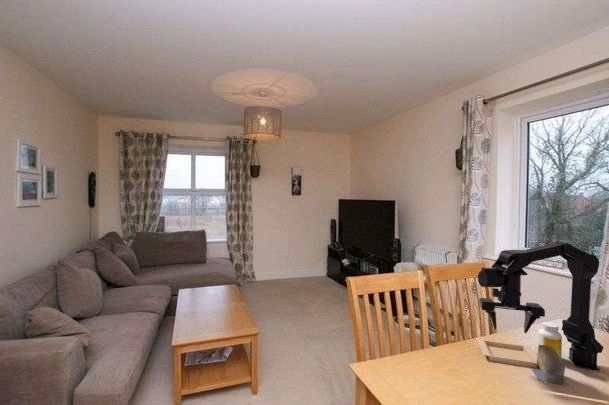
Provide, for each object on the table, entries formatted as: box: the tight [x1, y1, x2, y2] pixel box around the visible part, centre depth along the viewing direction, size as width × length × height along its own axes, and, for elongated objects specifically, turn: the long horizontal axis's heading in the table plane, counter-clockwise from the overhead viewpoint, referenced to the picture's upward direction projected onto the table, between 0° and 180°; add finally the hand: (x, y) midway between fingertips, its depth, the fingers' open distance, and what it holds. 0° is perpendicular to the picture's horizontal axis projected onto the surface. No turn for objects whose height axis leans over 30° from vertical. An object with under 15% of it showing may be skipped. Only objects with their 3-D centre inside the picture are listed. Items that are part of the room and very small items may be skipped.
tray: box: [476, 338, 538, 368], centre depth 115 cm, size 18×13×2 cm
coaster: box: [529, 367, 571, 387], centre depth 102 cm, size 8×8×1 cm
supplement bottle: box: [538, 321, 563, 360], centre depth 113 cm, size 7×7×13 cm
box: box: [537, 344, 566, 386], centre depth 101 cm, size 4×9×7 cm, turn 161°
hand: (509, 330), depth 110 cm, fingers open, 9 cm apart
